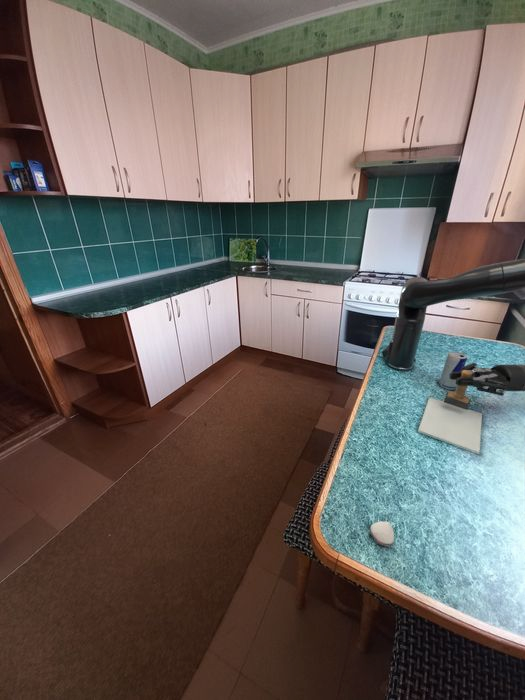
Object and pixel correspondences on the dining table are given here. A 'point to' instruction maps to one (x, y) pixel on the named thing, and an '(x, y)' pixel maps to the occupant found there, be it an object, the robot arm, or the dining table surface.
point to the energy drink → (452, 369)
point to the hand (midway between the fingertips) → (454, 378)
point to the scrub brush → (459, 394)
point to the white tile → (452, 425)
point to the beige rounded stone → (382, 533)
